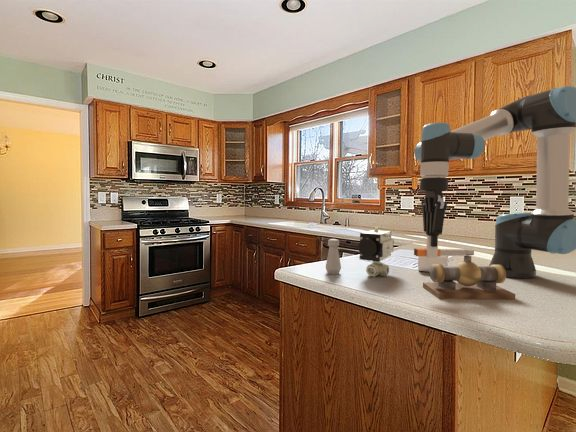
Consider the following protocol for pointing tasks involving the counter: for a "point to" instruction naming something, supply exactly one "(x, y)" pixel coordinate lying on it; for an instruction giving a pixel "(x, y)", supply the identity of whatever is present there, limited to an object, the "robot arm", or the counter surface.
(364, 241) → the ball valve
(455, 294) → the valve mount
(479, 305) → the counter surface
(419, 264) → the white rectangular block
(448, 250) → the lever
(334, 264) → the salt shaker
